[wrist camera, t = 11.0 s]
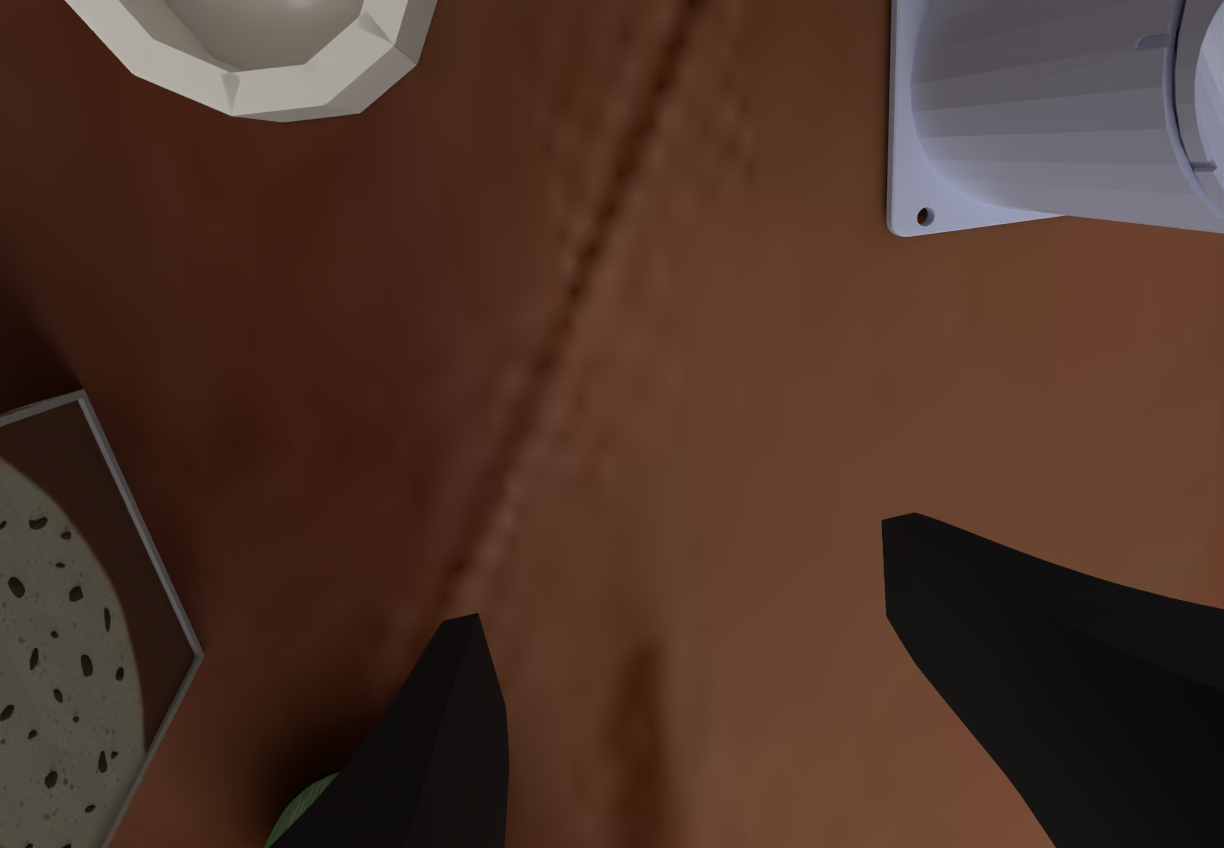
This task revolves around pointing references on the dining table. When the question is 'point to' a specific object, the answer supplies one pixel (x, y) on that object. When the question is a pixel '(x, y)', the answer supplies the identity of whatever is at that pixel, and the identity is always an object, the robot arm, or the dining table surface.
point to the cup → (266, 50)
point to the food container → (79, 632)
